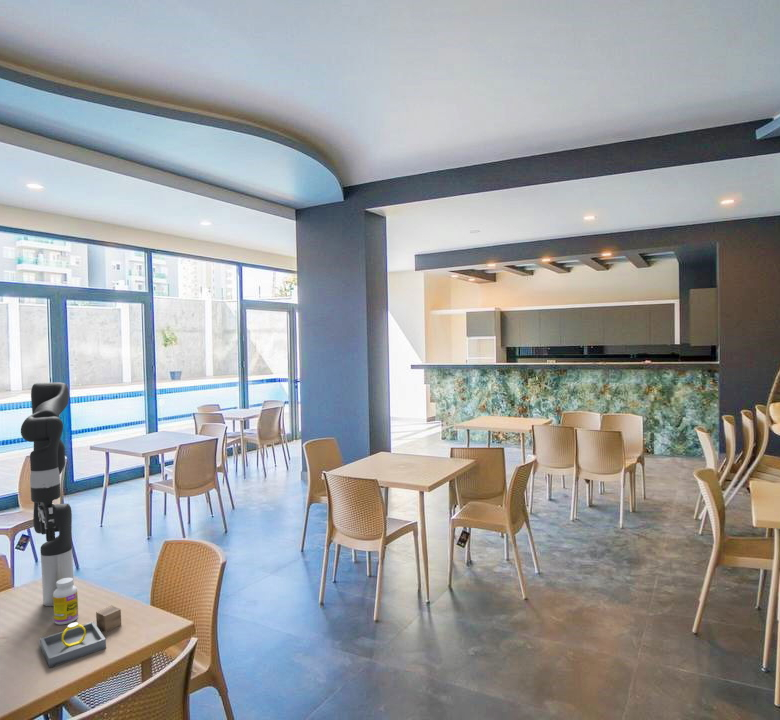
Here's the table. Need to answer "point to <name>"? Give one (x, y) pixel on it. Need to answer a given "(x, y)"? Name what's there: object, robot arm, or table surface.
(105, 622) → the walnut block
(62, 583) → the supplement bottle
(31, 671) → the table surface
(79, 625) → the watch
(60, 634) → the slate tray
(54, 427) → the robot arm
